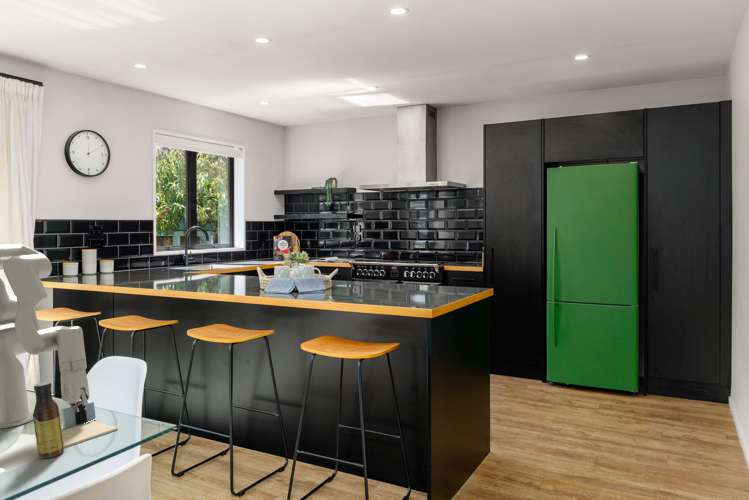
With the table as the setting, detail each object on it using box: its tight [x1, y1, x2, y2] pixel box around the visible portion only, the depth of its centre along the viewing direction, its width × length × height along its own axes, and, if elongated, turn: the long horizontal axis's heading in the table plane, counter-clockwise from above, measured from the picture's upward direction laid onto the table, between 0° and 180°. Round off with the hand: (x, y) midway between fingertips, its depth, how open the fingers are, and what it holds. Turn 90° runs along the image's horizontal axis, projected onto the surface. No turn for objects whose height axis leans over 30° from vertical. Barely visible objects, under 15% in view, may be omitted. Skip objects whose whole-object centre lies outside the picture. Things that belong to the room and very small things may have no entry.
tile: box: [61, 400, 97, 430], centre depth 180 cm, size 2×9×6 cm, turn 141°
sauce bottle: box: [32, 381, 65, 459], centre depth 154 cm, size 6×6×20 cm
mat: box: [62, 420, 119, 449], centre depth 170 cm, size 16×16×1 cm
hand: (79, 422), depth 180 cm, fingers closed on tile, 2 cm apart
